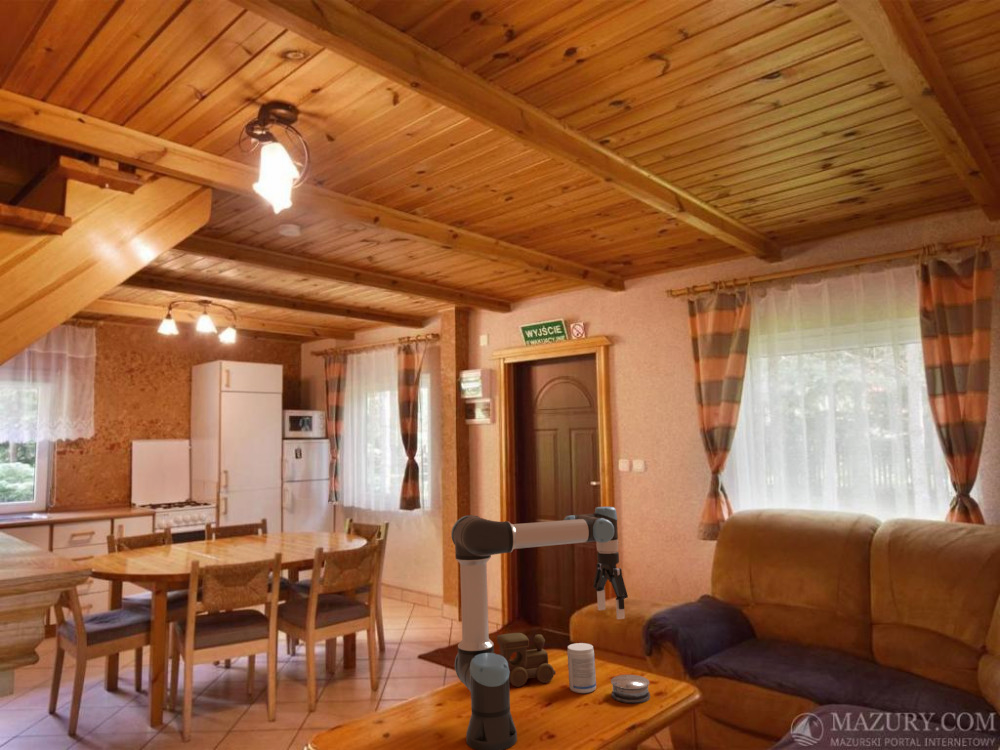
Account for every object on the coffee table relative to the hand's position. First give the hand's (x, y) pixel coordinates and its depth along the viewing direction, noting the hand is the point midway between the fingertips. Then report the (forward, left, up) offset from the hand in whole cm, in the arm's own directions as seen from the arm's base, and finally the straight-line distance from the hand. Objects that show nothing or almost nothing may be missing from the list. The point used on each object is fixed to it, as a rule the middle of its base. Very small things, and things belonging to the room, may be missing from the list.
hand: (611, 614), depth 228 cm
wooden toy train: (-21, +29, -28) cm, 45 cm away
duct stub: (+6, 0, -28) cm, 29 cm away
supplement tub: (-6, +13, -28) cm, 32 cm away
